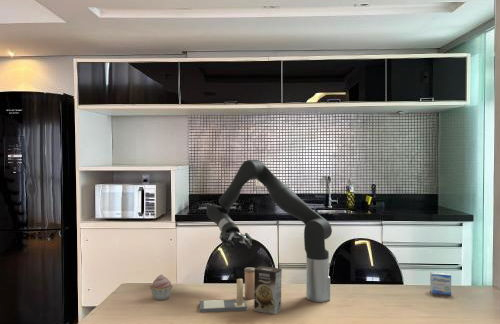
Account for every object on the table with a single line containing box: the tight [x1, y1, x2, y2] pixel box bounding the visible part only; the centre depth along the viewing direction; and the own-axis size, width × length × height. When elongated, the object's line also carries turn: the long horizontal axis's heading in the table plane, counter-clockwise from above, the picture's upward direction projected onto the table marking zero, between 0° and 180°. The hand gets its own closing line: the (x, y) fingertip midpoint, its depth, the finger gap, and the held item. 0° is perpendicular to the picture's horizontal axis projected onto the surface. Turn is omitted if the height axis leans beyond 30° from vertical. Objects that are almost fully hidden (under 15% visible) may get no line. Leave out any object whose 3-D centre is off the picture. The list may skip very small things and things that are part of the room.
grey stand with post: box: [199, 278, 248, 313], centre depth 157 cm, size 18×9×11 cm, turn 97°
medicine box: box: [429, 271, 452, 296], centre depth 175 cm, size 8×4×9 cm, turn 73°
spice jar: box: [244, 266, 257, 300], centre depth 168 cm, size 5×5×12 cm
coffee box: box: [253, 265, 283, 315], centre depth 153 cm, size 9×6×16 cm
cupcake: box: [149, 274, 173, 301], centre depth 167 cm, size 9×9×10 cm
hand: (242, 247), depth 173 cm, fingers open, 8 cm apart
